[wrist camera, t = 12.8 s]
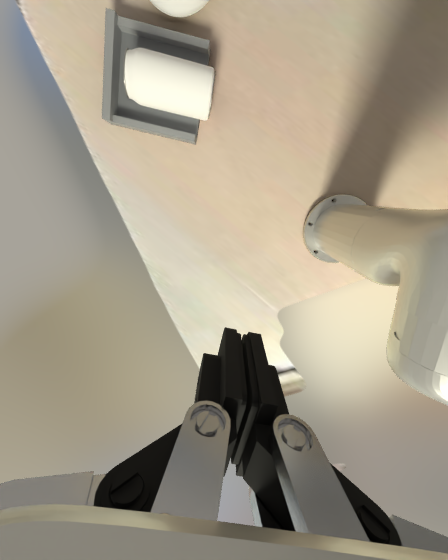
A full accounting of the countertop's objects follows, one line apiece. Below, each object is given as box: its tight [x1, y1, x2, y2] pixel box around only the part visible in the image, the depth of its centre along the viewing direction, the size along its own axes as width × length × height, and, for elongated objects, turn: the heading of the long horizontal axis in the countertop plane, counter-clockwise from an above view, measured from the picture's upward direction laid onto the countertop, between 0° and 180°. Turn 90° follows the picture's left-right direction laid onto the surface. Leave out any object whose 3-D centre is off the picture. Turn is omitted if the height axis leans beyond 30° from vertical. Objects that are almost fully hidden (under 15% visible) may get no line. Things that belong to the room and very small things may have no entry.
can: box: [123, 47, 216, 121], centre depth 35 cm, size 6×6×12 cm
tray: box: [102, 8, 211, 144], centre depth 37 cm, size 14×13×4 cm
